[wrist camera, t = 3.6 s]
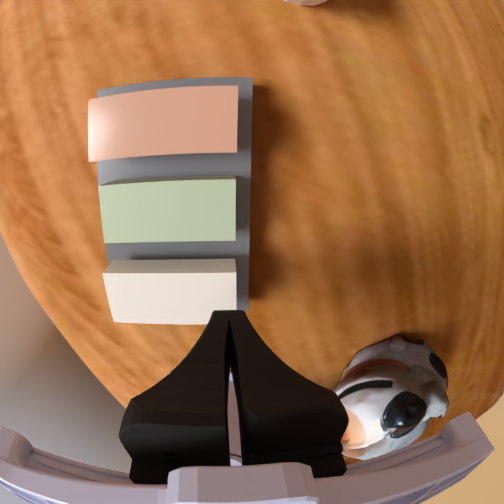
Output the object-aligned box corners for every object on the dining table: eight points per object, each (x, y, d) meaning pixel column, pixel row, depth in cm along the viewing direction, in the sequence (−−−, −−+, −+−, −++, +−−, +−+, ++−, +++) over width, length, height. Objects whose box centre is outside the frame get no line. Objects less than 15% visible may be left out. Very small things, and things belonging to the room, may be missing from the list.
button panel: (246, 298, 23) (248, 311, 21) (125, 298, 22) (118, 311, 20) (250, 84, 17) (252, 77, 15) (108, 94, 16) (97, 90, 14)
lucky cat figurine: (338, 425, 31) (317, 507, 18) (306, 354, 32) (269, 432, 19) (446, 390, 26) (470, 470, 13) (428, 308, 26) (466, 376, 13)
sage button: (234, 230, 18) (235, 240, 16) (115, 233, 18) (104, 243, 16) (234, 175, 17) (235, 179, 15) (110, 181, 16) (98, 186, 14)
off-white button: (235, 306, 19) (236, 323, 17) (122, 305, 18) (113, 322, 17) (235, 258, 18) (236, 272, 16) (113, 260, 17) (102, 273, 15)
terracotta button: (235, 151, 15) (236, 152, 14) (103, 159, 15) (88, 161, 13) (236, 92, 14) (238, 85, 12) (103, 103, 13) (88, 99, 12)
